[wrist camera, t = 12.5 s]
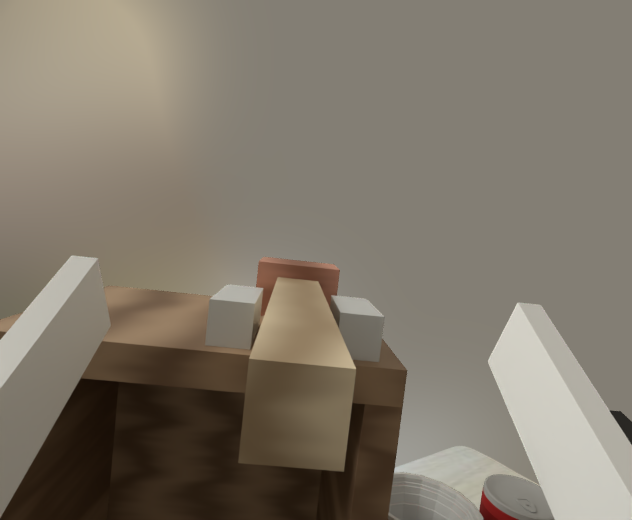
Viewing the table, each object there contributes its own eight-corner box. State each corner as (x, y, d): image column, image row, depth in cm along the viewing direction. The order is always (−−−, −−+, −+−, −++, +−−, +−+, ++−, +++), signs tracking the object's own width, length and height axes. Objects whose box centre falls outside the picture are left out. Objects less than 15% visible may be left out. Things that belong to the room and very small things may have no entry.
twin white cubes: (205, 345, 23) (209, 299, 23) (223, 321, 29) (227, 284, 29) (378, 362, 23) (384, 317, 23) (361, 334, 29) (366, 298, 29)
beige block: (184, 458, 12) (197, 317, 12) (258, 303, 37) (263, 256, 37) (395, 475, 12) (412, 339, 12) (328, 310, 37) (333, 264, 37)
